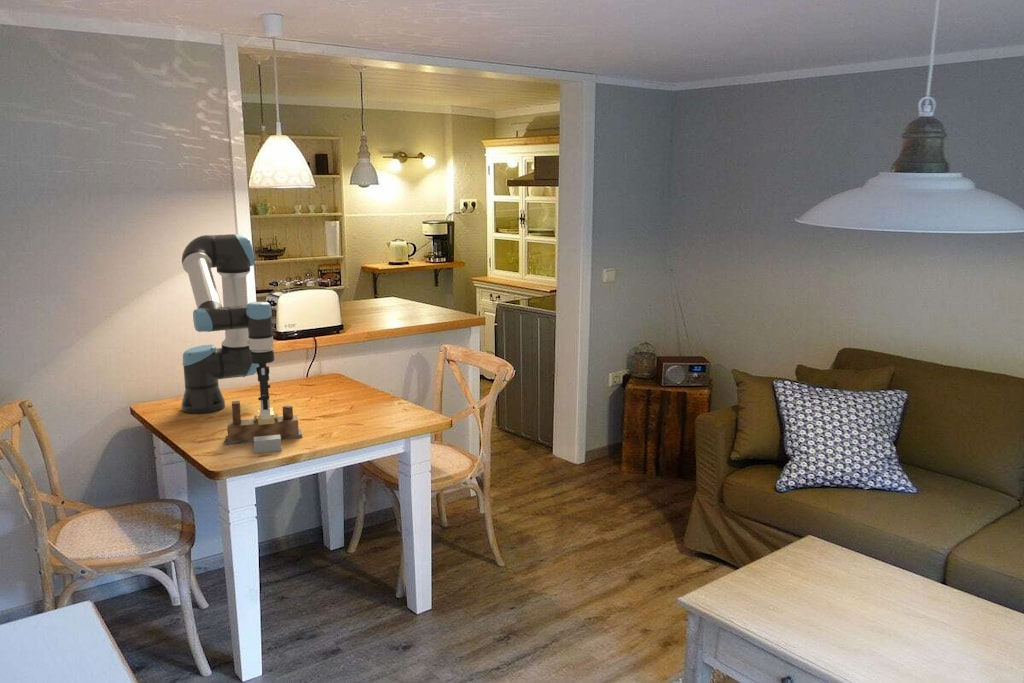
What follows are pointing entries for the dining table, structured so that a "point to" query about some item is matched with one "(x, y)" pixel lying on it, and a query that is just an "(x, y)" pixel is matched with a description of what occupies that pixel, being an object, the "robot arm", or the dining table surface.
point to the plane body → (261, 426)
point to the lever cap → (264, 421)
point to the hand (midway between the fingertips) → (265, 413)
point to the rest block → (267, 443)
